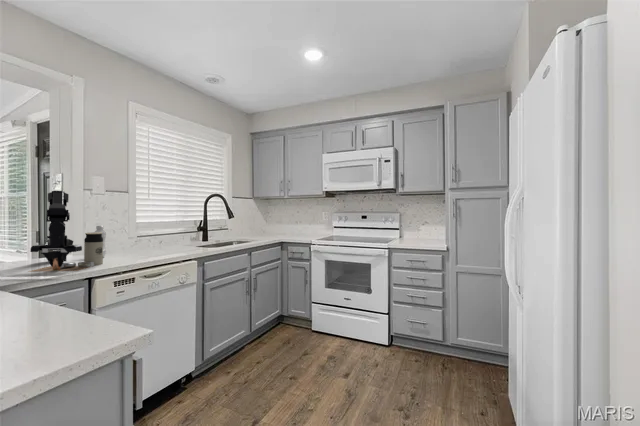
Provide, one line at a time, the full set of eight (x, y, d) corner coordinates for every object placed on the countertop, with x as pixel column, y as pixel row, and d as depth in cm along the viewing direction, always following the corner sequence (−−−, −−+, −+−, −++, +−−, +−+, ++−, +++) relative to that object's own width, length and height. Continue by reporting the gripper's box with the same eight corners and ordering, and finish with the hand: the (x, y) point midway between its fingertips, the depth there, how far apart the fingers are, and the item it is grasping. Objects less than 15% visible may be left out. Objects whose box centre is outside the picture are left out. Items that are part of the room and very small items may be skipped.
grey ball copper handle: (65, 265, 154) (65, 255, 154) (78, 265, 155) (78, 254, 155) (47, 270, 142) (47, 258, 142) (61, 270, 143) (61, 258, 143)
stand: (27, 274, 140) (27, 266, 140) (49, 268, 154) (49, 261, 154) (77, 273, 143) (77, 266, 143) (94, 268, 157) (94, 261, 157)
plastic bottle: (108, 257, 195) (108, 225, 195) (96, 258, 188) (97, 226, 188) (102, 256, 197) (102, 225, 197) (90, 257, 191) (91, 225, 191)
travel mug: (80, 266, 160) (81, 232, 160) (97, 264, 167) (98, 232, 167) (88, 268, 156) (89, 233, 156) (105, 266, 163) (106, 232, 163)
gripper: (89, 232, 153) (88, 263, 153) (47, 232, 150) (47, 263, 150) (74, 234, 142) (74, 267, 142) (29, 234, 139) (29, 267, 139)
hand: (56, 266), depth 144 cm, fingers closed on grey ball copper handle, 3 cm apart
